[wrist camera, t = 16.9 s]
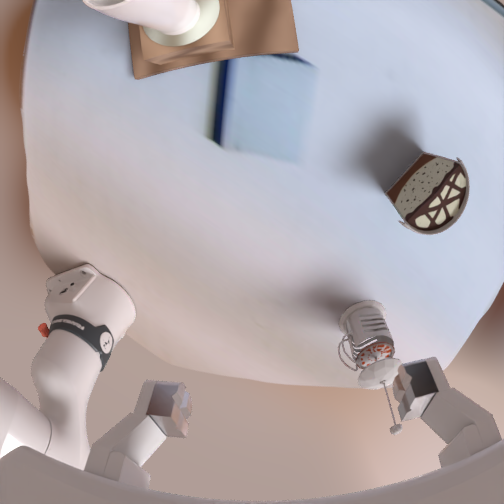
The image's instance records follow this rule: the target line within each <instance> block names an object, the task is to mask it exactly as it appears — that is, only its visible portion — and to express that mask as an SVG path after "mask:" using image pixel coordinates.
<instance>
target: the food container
mask: <svg viewBox="0 0 504 504" xmlns="http://www.w3.org/2000/svg"><path fill="white" fill-rule="evenodd" d="M457 160H458V161H455V160H451V159H448V158H445V157H441V156H437V155H434V154H430V153H426V152H422V154H421V155H420V156H419V157H418V158H417V159H416V160H415V161H414V162H413V163H412V165H411V166H410V167H409V168H408V169H407V170H406V171H405V172H404V173H403V174H402V175H401V176H400V178H399V179H398V180H397V181H396V182H395V183H394V184H393V185H392V186H391V187H390V188H389V189H388V190H387V191H386V192H385V194H386V196H387V197H388V199H389V200H390V201H391V203H392V204H393V206H394V207H395V209H396V210H397V211H398V213H399V214H400V216H401V217H402V219H403V220H404V222H405V223H403V222H401V221H399V222H400V223H401V224H402V225H403V226H405V227H406V228H408V229H410V230H412V231H414V232H416V233H419V234H425V235H433V234H438V233H441V232H443V231H445V230H447V229H448V228H450V227H451V226H452V225H453V224H454V223H455V222H456V221H457V220H458V219H459V218H460V216H461V214H462V213H463V211H464V209H465V207H466V204H467V201H468V197H469V188H470V186H469V177H468V173H467V170H466V168H465V166H464V164H463V162H462V161H461V160H460V159H459V158H458V157H457Z"/></svg>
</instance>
